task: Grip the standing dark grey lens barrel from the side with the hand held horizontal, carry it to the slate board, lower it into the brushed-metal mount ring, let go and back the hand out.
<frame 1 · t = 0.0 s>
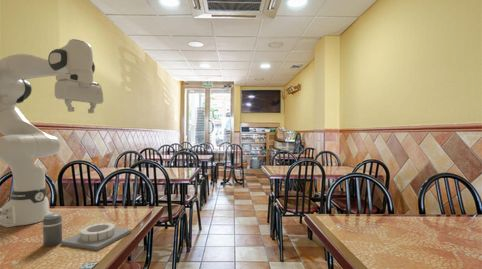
hand: (81, 112, 107), 48 cm above the table, tool pointing down, fingers open, 8 cm apart
lens: (52, 243, 91), on the table
mount: (98, 238, 95), on the table
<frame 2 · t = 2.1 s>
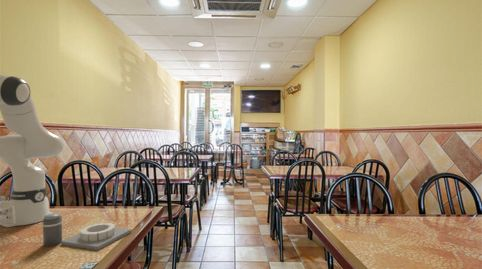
hand: (7, 201, 82), 18 cm above the table, tool horizontal, fingers open, 8 cm apart
nothing on the table moved.
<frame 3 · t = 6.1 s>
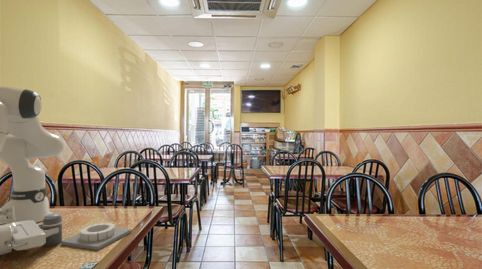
hand: (55, 227, 92), 6 cm above the table, tool horizontal, fingers closed on lens, 5 cm apart
lens: (52, 243, 91), on the table, touching gripper
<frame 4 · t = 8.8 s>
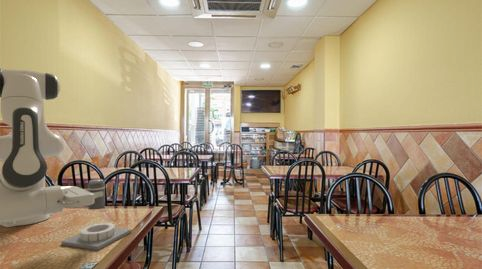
hand: (99, 192, 95), 17 cm above the table, tool horizontal, fingers closed on lens, 5 cm apart
lens: (96, 207, 95), point 12 cm above the table, touching gripper
when the fingers open (8 cm above the table, at t = 11.4 s): lens drops 1 cm, resting on mount.
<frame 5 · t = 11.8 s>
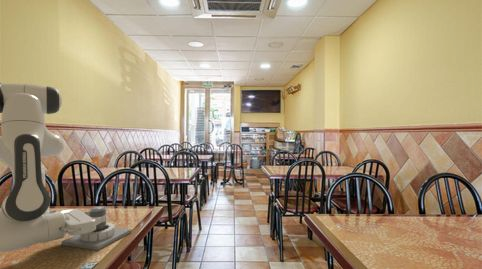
hand: (100, 215, 96), 8 cm above the table, tool horizontal, fingers open, 8 cm apart
lens: (98, 234, 95), point 1 cm above the table, touching mount
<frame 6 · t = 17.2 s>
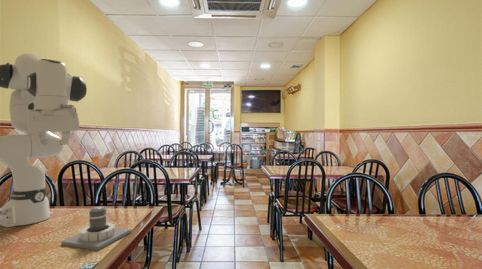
hand: (53, 144, 90), 35 cm above the table, tool pointing down, fingers open, 8 cm apart
nothing on the table moved.
at the end: lens 0.0 cm off-centre on the mount, point 1.2 cm above the mount's base; lens tilted 0°; the gripper is holding nothing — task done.
